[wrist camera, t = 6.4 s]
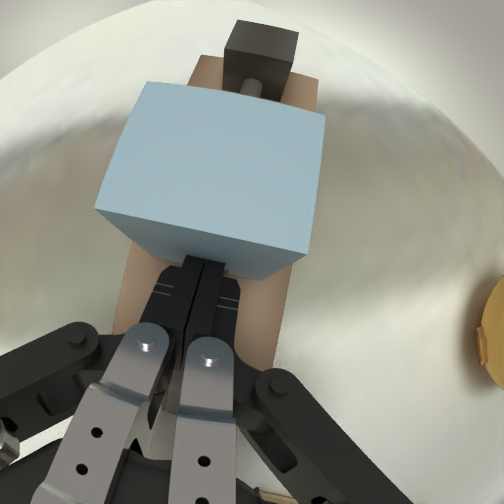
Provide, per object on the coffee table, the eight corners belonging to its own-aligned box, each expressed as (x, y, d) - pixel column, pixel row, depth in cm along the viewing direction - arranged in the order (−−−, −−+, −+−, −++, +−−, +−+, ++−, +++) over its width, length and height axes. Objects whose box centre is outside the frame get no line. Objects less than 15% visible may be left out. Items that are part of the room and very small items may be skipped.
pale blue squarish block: (276, 201, 15) (325, 116, 8) (261, 280, 14) (307, 254, 7) (174, 179, 15) (147, 81, 7) (153, 256, 14) (93, 207, 6)
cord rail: (312, 92, 19) (335, 43, 14) (254, 417, 15) (270, 458, 10) (201, 69, 18) (200, 15, 13) (113, 384, 14) (75, 412, 9)
